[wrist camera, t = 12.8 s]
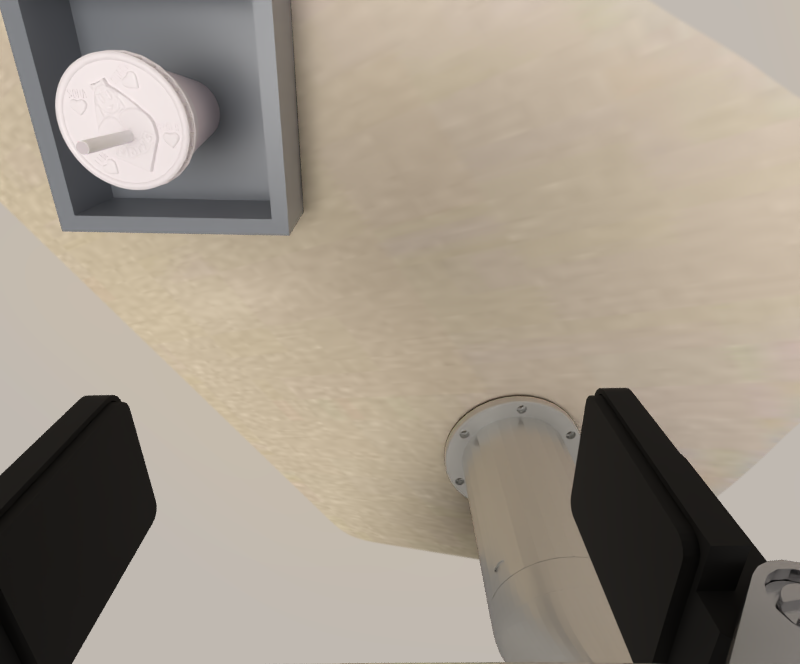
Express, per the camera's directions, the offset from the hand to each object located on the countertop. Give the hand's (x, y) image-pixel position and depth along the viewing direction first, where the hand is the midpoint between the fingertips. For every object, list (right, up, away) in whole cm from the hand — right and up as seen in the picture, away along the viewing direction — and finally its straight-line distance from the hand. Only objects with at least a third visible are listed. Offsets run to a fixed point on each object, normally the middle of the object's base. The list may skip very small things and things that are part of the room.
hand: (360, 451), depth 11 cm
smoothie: (-13, +17, +23) cm, 31 cm away
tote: (-13, +18, +24) cm, 32 cm away
